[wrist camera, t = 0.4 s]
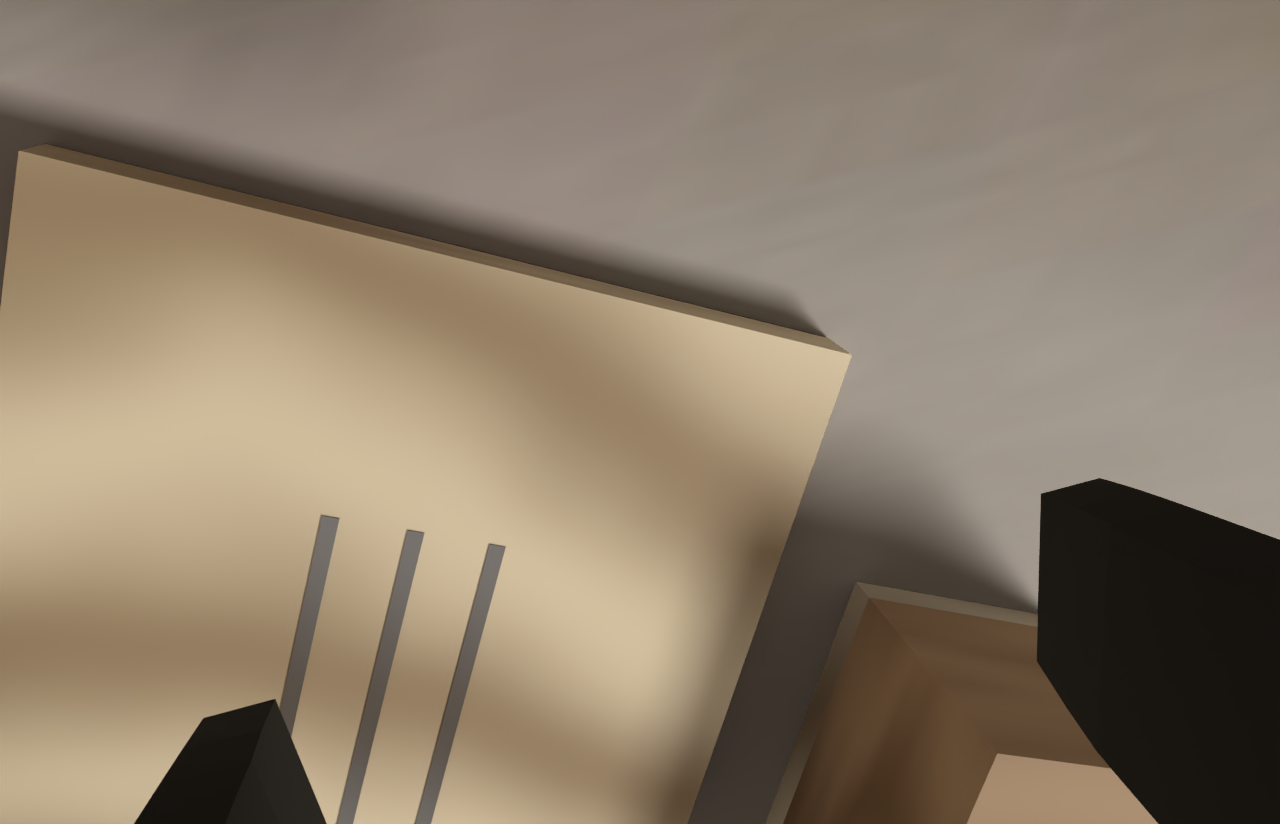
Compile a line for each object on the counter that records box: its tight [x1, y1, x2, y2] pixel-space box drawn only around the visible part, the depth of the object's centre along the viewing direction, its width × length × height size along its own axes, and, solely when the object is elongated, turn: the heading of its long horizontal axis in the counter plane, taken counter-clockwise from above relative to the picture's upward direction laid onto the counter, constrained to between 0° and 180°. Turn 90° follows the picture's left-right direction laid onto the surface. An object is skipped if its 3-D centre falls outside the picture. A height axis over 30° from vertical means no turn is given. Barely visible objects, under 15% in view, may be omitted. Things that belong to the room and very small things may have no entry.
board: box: [0, 144, 852, 824], centre depth 20 cm, size 18×14×1 cm
